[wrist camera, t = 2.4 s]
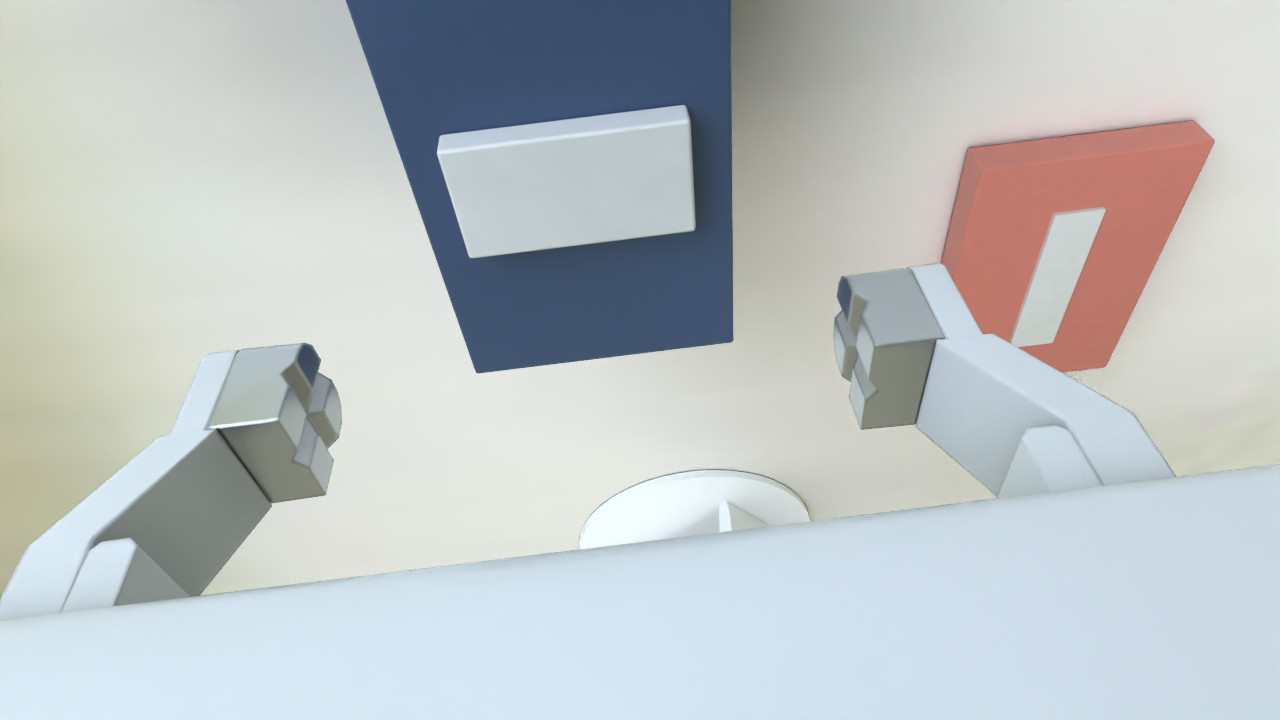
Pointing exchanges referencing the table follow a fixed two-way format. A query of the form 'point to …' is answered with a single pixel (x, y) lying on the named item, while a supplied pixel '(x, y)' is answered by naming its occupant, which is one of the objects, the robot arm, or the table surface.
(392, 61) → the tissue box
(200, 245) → the table surface
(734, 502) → the panda figurine
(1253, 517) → the robot arm
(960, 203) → the tissue packet
